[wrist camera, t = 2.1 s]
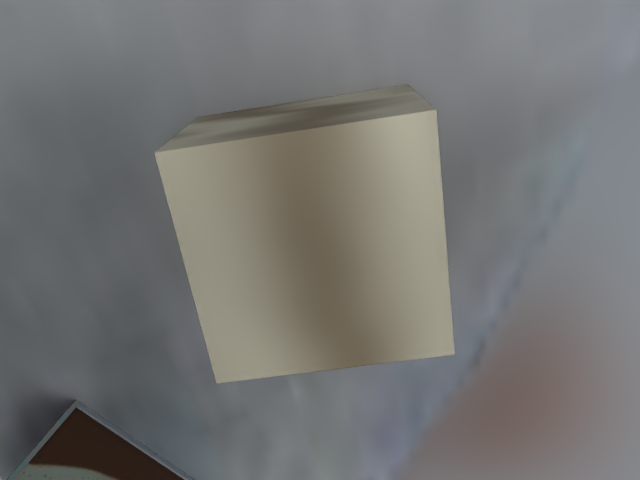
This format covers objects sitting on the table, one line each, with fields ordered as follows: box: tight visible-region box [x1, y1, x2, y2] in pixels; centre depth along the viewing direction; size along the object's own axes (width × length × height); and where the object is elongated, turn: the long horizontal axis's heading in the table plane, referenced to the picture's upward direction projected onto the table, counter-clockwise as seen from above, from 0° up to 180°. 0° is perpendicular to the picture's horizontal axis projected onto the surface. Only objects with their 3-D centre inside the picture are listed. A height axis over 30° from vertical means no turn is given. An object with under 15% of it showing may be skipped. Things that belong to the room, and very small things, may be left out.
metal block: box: [155, 84, 455, 383], centre depth 20 cm, size 8×8×6 cm
